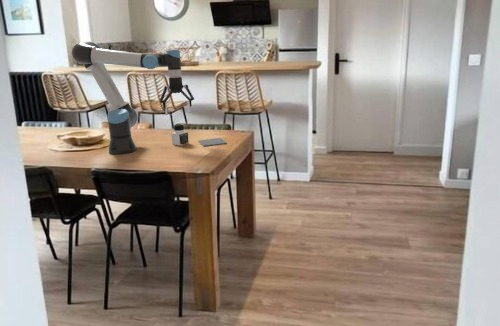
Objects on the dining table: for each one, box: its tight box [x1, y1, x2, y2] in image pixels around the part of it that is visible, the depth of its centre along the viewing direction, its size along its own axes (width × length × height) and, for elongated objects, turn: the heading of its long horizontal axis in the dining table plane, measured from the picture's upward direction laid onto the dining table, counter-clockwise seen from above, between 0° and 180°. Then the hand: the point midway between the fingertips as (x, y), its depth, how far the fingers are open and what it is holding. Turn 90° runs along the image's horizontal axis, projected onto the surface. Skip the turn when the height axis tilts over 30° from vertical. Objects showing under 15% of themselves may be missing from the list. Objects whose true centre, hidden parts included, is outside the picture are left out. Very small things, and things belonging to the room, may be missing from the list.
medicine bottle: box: [171, 123, 190, 146], centre depth 270 cm, size 7×7×12 cm
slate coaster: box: [197, 137, 227, 148], centre depth 271 cm, size 14×14×1 cm
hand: (178, 113), depth 267 cm, fingers open, 13 cm apart
